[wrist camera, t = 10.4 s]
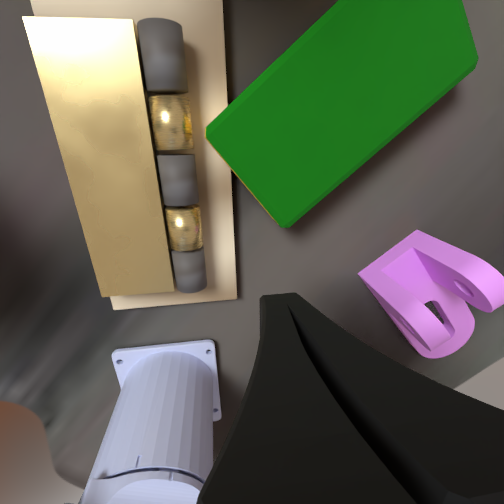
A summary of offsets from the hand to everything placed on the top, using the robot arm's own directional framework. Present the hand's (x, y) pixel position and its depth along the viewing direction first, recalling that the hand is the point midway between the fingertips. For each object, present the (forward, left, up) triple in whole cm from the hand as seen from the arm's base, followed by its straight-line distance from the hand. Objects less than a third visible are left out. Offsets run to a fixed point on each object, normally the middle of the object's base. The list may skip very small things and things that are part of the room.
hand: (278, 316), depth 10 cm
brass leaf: (+4, +6, -9) cm, 12 cm away
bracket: (-7, -15, -10) cm, 20 cm away
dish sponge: (+8, -5, -10) cm, 14 cm away
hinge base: (+4, +5, -10) cm, 12 cm away
